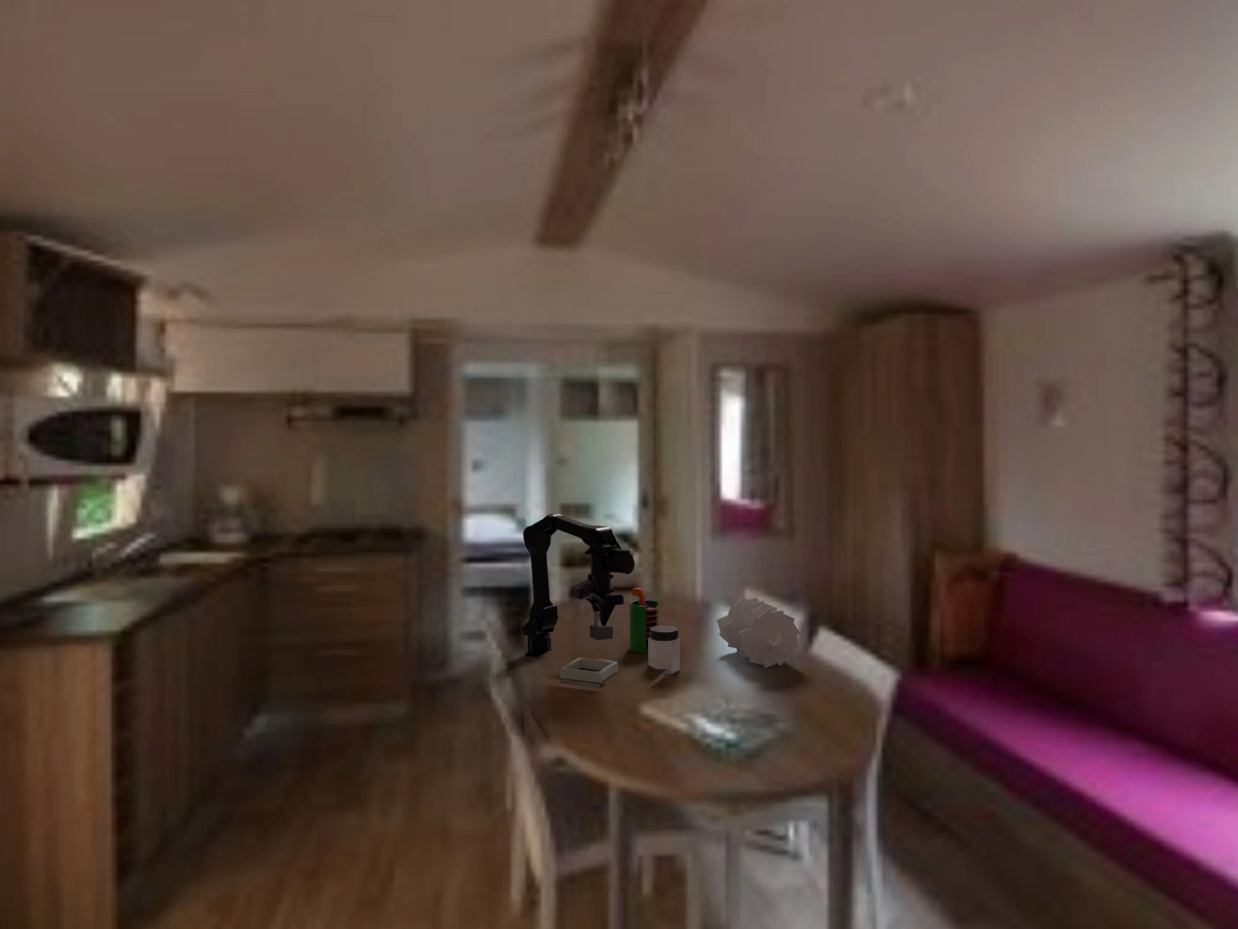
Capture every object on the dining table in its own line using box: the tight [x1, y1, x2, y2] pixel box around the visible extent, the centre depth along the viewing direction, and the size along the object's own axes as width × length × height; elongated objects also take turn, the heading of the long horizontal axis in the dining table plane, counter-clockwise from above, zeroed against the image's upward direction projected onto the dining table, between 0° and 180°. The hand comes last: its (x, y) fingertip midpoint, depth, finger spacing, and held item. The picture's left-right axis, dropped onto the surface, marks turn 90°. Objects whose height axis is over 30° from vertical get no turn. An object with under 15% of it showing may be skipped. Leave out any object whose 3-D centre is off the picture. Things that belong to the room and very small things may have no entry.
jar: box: [647, 625, 681, 675], centre depth 247 cm, size 9×8×12 cm
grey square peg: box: [589, 610, 614, 641], centre depth 250 cm, size 5×5×8 cm
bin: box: [559, 657, 619, 689], centre depth 238 cm, size 12×12×4 cm
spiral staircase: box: [716, 597, 801, 669], centre depth 257 cm, size 18×18×25 cm
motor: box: [628, 587, 659, 654], centre depth 265 cm, size 10×9×20 cm
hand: (601, 624), depth 250 cm, fingers closed on grey square peg, 3 cm apart
